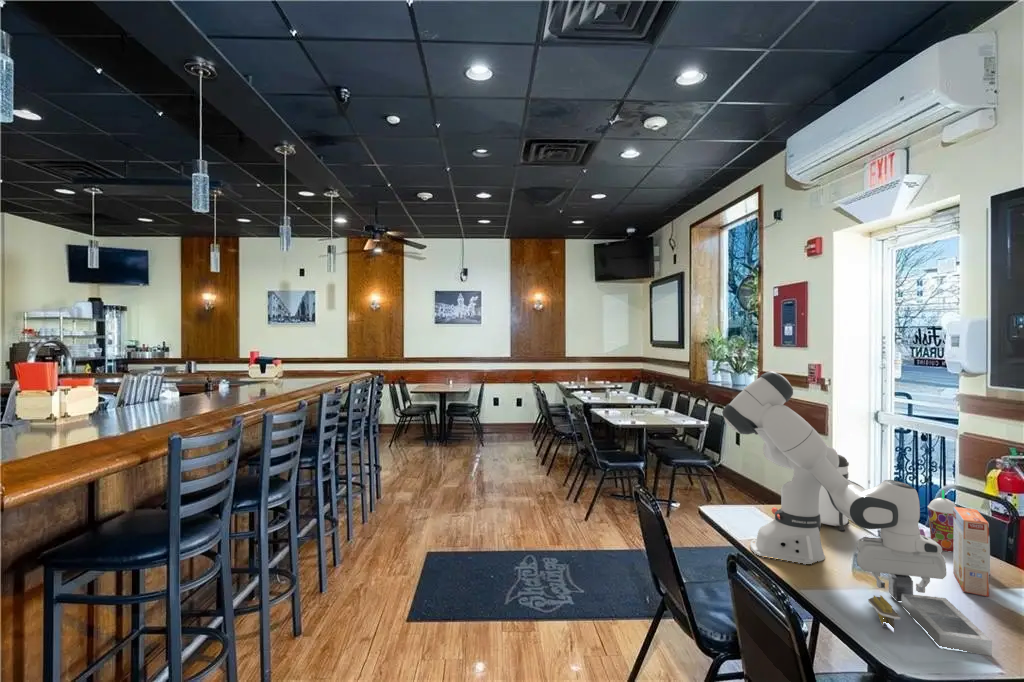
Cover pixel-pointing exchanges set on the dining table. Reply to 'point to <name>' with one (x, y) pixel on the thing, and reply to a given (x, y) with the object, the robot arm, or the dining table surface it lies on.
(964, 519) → the cracker box
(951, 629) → the grey rectangular tray
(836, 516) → the coffee press
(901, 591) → the grey rectangular block
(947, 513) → the smoothie
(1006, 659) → the dining table surface
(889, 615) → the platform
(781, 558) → the robot arm
